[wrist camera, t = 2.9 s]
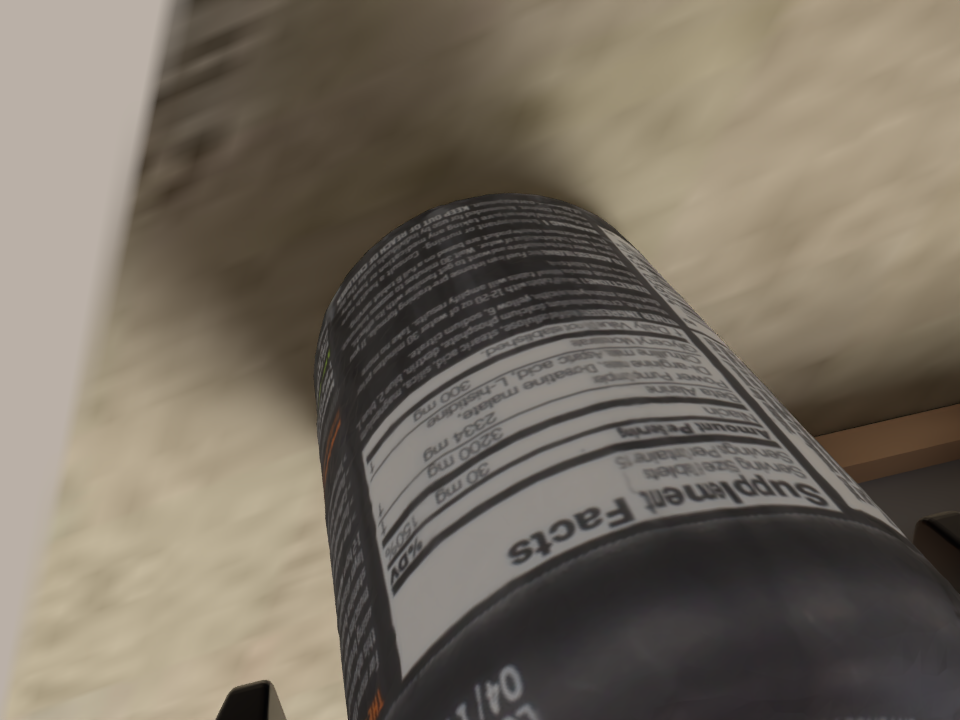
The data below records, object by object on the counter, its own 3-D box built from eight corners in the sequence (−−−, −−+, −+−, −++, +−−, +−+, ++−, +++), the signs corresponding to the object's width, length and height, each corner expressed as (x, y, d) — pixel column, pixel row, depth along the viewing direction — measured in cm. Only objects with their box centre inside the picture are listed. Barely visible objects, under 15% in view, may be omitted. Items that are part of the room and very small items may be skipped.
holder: (1176, 353, 18) (1381, 468, 15) (1051, 688, 24) (1179, 825, 21) (682, 467, 17) (786, 622, 14) (677, 792, 23) (748, 956, 19)
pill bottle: (573, 512, 17) (964, 1362, 7) (271, 461, 15) (279, 1551, 5) (714, 238, 14) (1566, 990, 5) (375, 132, 12) (729, 1074, 3)
